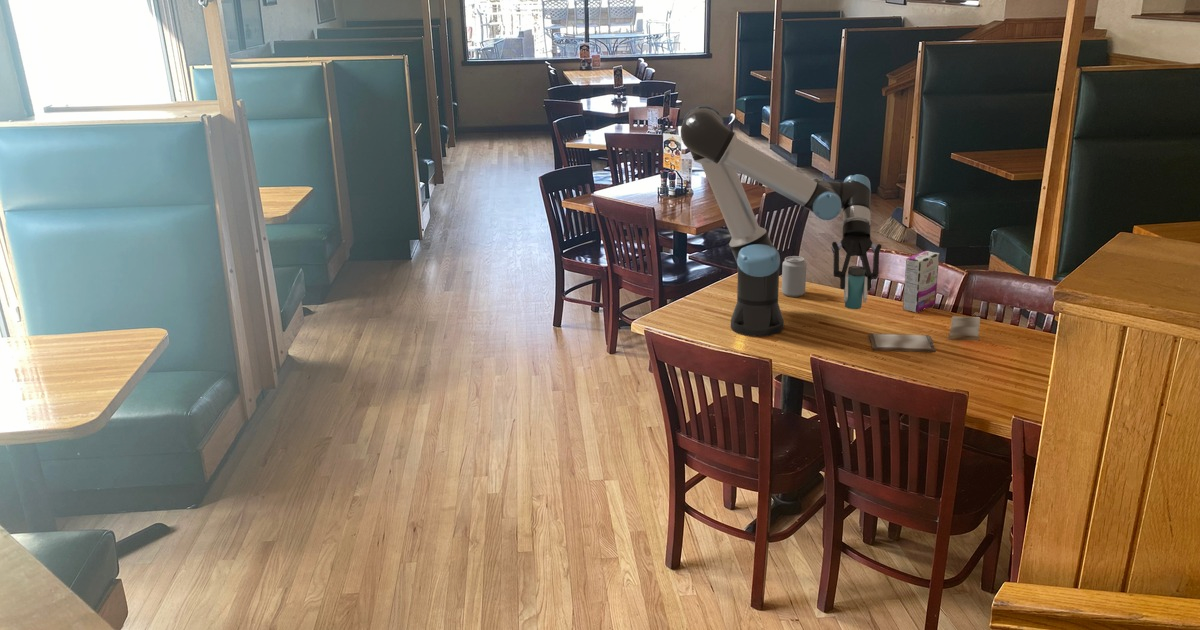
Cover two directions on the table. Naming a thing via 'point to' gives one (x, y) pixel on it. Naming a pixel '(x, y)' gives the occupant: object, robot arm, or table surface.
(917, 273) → the candy bar box
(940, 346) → the table surface
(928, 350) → the grey flat rectangular slab
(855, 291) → the teal lidded bottle
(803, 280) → the can
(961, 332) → the word sign
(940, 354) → the table surface
